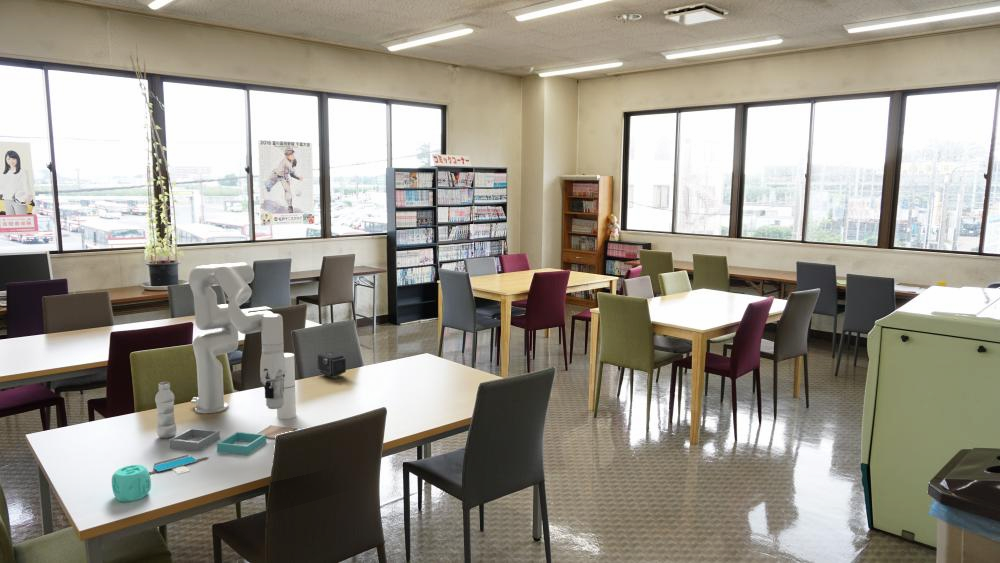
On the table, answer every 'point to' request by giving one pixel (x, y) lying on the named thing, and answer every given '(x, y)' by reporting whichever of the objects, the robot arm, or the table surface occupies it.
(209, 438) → the grey crate
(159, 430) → the plastic bottle
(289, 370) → the cylindrical container
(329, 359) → the camera
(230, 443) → the teal flat square frame
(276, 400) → the energy drink can
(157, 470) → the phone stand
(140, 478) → the decorative dice
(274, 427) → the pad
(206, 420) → the table surface
